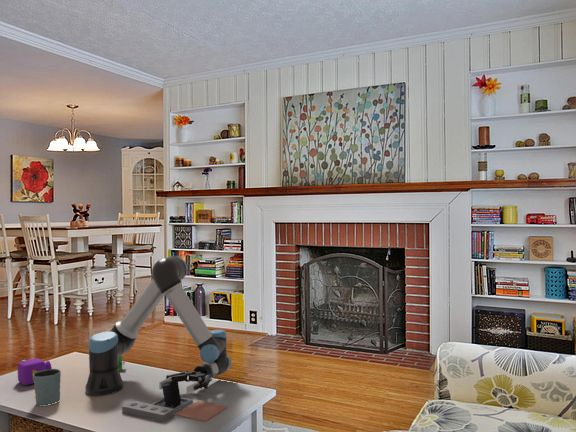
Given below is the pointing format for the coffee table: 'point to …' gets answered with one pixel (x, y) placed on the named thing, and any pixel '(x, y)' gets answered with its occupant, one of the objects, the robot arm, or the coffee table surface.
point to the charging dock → (153, 409)
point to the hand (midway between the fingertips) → (173, 388)
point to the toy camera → (31, 369)
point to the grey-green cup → (47, 386)
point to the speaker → (171, 393)
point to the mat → (201, 411)
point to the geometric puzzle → (120, 363)
